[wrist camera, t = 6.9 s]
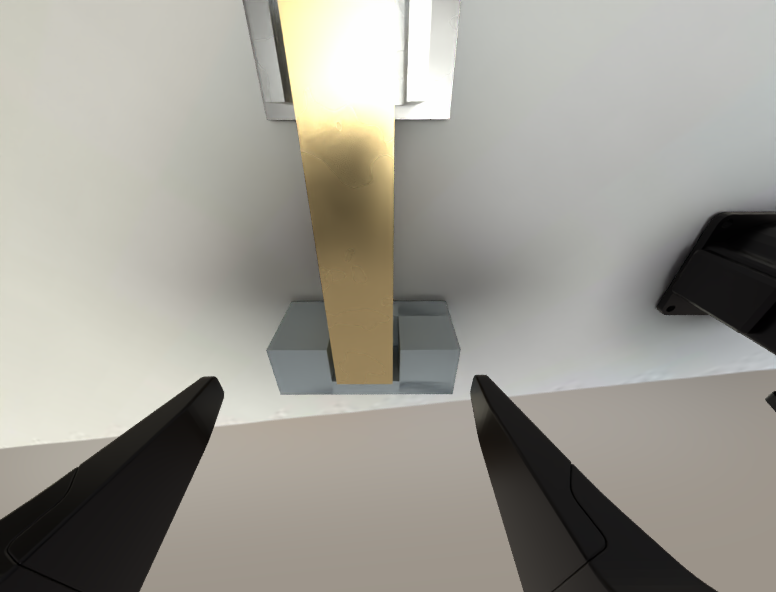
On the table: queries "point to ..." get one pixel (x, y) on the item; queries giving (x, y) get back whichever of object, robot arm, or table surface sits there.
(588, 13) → the table surface
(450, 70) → the grey sleeve
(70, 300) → the table surface
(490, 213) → the table surface
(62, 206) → the table surface
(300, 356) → the slate-blue socket
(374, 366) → the tan square rod
